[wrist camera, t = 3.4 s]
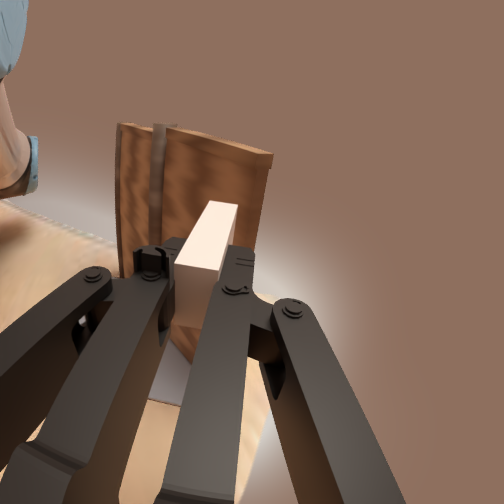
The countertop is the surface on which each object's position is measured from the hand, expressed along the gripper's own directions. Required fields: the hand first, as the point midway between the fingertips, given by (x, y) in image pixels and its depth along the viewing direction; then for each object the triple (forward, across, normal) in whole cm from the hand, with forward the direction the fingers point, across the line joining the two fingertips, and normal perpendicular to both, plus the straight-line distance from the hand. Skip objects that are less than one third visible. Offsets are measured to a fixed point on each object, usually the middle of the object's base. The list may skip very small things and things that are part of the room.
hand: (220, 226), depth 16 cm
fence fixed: (+18, -13, -22) cm, 31 cm away
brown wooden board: (+8, -3, -21) cm, 23 cm away
